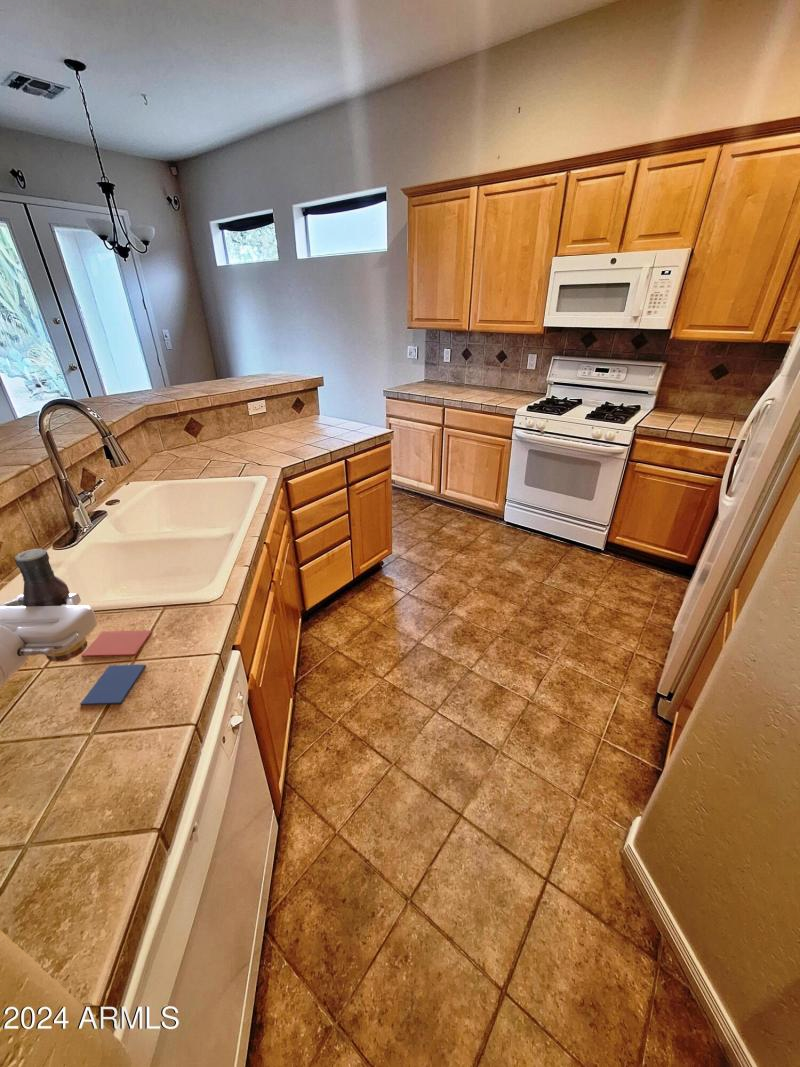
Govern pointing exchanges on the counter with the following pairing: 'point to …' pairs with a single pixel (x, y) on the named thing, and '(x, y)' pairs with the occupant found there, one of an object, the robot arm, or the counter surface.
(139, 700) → the counter surface
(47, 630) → the robot arm
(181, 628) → the counter surface
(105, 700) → the blue mat
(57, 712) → the counter surface
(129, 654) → the terracotta mat
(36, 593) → the sauce bottle
